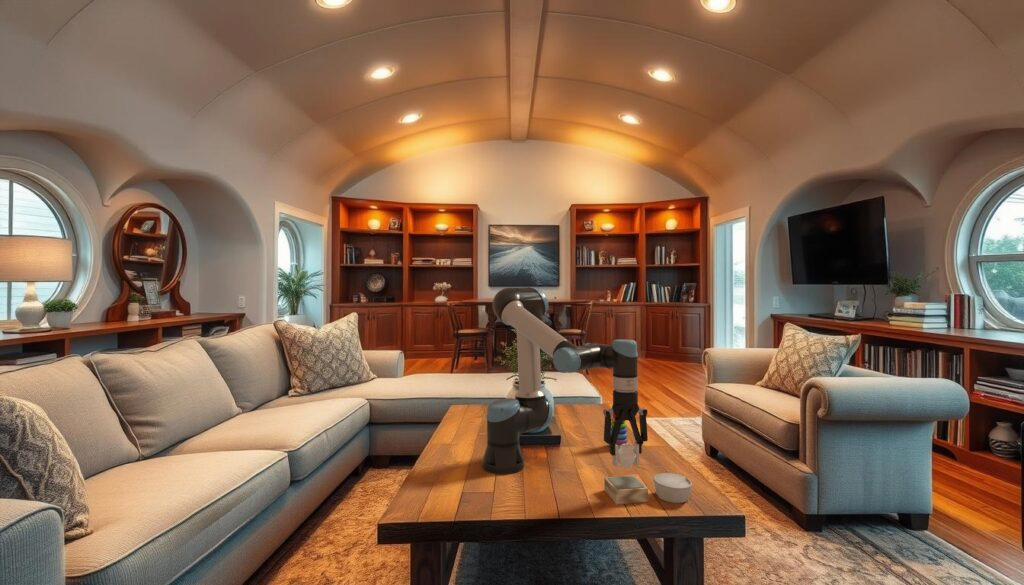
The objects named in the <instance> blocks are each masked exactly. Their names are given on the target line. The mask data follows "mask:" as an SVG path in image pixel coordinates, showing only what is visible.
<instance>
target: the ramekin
mask: <svg viewBox="0 0 1024 585" xmlns="http://www.w3.org/2000/svg"><path fill="white" fill-rule="evenodd" d="M653 482H654V488H655V494H656V496H657V497H658V498H659V499H660V500H662V501H664V502H666V501H667V503H670V502H671V503H672V504H684V503H686V502H688V500H689V499H690V496H691V492H692V491H691V489H692V487H693V482H692V480H691V479H689V478H688V477H686V476H684V475H681V474H677V473H674V472H673V473H669V472H662V473H657V474H656V475H654V477H653ZM683 502H684V503H683Z"/></svg>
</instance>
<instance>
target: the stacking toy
mask: <svg viewBox="0 0 1024 585" xmlns="http://www.w3.org/2000/svg"><path fill="white" fill-rule="evenodd" d="M612 406H613V404H612ZM612 406H611V407H612ZM615 417H616V415H615V414H614V413H612V417H611V433H612V429H613V426H614V422H615ZM627 431H628V429H627V424H626V421H623V423H622V425H621V427H620V431H619V434H618V438H617V441H616V444H617V445H618V450H619V449H620V446H621V445H622V444H629V443H628V433H627ZM608 446H609V447H610V444H608Z"/></svg>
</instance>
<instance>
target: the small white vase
mask: <svg viewBox="0 0 1024 585" xmlns="http://www.w3.org/2000/svg"><path fill="white" fill-rule="evenodd" d="M635 458H636V453H635V452H634V451H633V445H631V444H629V443H628V444H622V445H621V446H620V449H618V464H619V465H620V467H622V468H625V469H630V468H632V466H633V465H634V461H635Z"/></svg>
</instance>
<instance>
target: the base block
mask: <svg viewBox="0 0 1024 585" xmlns="http://www.w3.org/2000/svg"><path fill="white" fill-rule="evenodd" d="M603 479H604V484H603V485H604V487H603V489H604V490H603V491H604V492H605V493H606V494H607V495H608V496H609V497H610V499H611V500H612V501H613V502H614V504H615V505H623V504H634V503H635V504H636V503H639V504H640V503H648V502H649V488H648V487H647V486H646V485H645V484H644V483H643V482H642V481H641V480H640V479H638V478H637V476H635V475H633V474H632V475H619V476H609V477H608V476H605V477H603Z"/></svg>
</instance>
